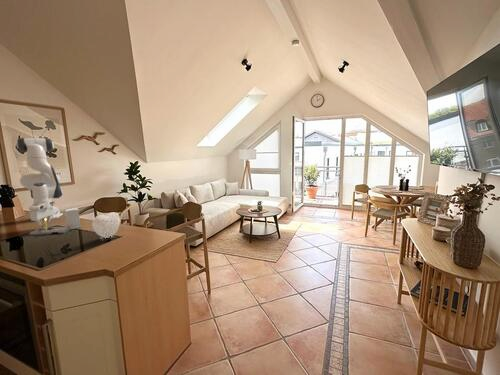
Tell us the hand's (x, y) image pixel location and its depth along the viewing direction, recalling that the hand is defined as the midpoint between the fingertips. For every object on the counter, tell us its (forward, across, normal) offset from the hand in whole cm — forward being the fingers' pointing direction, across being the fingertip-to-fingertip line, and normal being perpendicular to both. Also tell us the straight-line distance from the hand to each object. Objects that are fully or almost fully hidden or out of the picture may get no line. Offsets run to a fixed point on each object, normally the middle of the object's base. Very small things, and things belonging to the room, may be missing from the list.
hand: (44, 223), depth 179 cm
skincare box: (+5, -1, +19) cm, 20 cm away
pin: (+5, 0, 0) cm, 5 cm away
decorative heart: (+6, +27, +54) cm, 60 cm away
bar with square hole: (+5, +8, +8) cm, 12 cm away
